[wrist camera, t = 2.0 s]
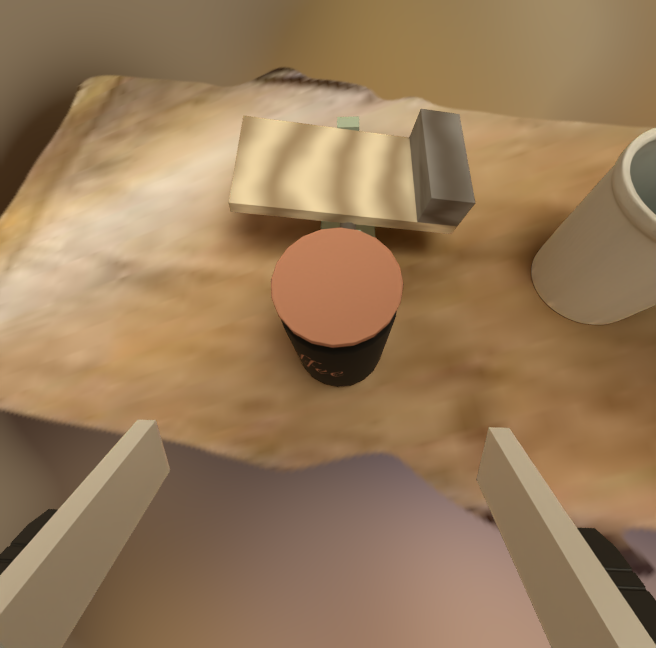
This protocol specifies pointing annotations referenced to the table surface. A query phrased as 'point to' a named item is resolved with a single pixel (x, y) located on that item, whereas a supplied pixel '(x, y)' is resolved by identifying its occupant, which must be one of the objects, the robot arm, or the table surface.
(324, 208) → the seesaw plank
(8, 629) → the robot arm
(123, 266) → the table surface
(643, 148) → the utensil holder
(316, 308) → the coffee jar
